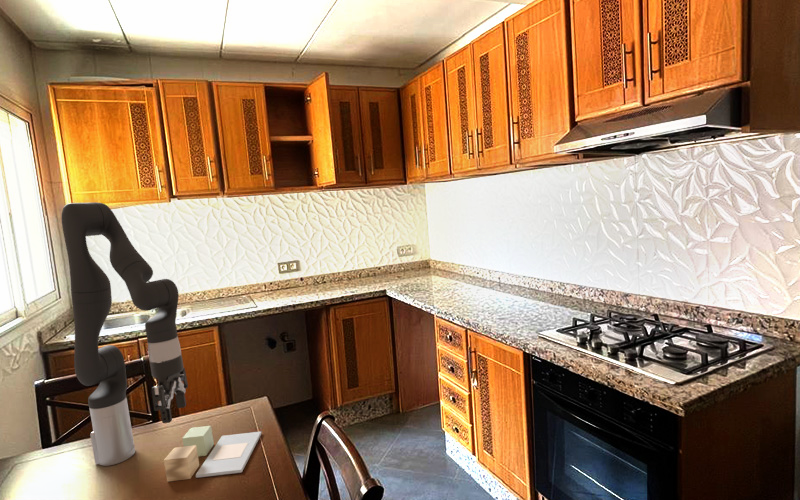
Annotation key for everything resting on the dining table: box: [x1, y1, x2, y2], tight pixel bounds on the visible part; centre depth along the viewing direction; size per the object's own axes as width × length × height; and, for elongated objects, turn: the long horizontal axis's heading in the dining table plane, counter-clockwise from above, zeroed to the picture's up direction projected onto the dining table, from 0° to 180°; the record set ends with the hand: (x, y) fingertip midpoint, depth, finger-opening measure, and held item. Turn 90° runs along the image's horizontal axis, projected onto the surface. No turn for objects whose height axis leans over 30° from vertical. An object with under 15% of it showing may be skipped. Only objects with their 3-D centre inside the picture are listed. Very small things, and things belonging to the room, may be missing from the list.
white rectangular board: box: [195, 431, 262, 478], centre depth 128 cm, size 12×20×1 cm, turn 3°
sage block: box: [181, 425, 215, 457], centre depth 131 cm, size 6×6×6 cm
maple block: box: [163, 445, 200, 482], centre depth 120 cm, size 6×6×6 cm
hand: (174, 414), depth 119 cm, fingers open, 8 cm apart
